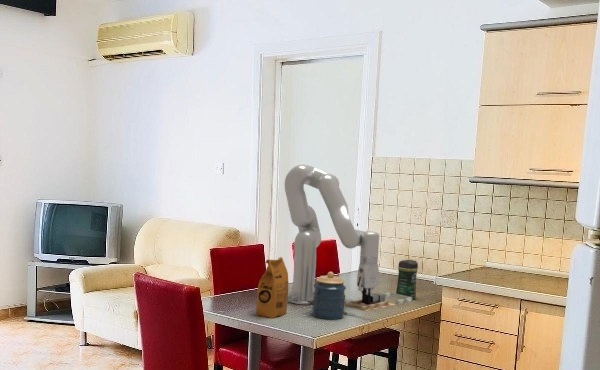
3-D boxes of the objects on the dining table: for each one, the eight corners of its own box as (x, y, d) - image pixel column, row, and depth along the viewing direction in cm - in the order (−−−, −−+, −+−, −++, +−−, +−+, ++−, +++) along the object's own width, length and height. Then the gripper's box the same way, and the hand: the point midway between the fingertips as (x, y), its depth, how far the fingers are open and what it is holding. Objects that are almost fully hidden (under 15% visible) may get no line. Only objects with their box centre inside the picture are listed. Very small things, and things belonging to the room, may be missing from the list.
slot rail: (366, 314, 228) (366, 307, 228) (343, 308, 237) (343, 301, 237) (412, 304, 255) (412, 297, 255) (390, 298, 263) (390, 292, 263)
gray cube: (372, 306, 238) (373, 296, 238) (365, 304, 241) (365, 294, 241) (378, 304, 241) (378, 295, 241) (370, 302, 244) (371, 293, 244)
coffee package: (251, 314, 216) (255, 258, 216) (269, 309, 227) (273, 255, 227) (272, 319, 211) (276, 261, 211) (290, 313, 222) (294, 258, 221)
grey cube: (379, 304, 242) (380, 295, 242) (371, 302, 245) (372, 293, 245) (384, 303, 245) (385, 294, 245) (377, 301, 248) (377, 292, 248)
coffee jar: (407, 301, 259) (410, 261, 259) (393, 298, 264) (396, 259, 264) (418, 299, 266) (421, 260, 266) (403, 295, 272) (406, 257, 271)
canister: (324, 309, 232) (327, 267, 232) (350, 316, 224) (353, 272, 223) (305, 314, 222) (308, 270, 222) (331, 321, 214) (334, 275, 213)
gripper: (365, 263, 230) (362, 307, 230) (386, 260, 241) (383, 303, 241) (350, 260, 235) (348, 303, 235) (371, 258, 246) (369, 299, 246)
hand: (365, 303), depth 238 cm, fingers closed
